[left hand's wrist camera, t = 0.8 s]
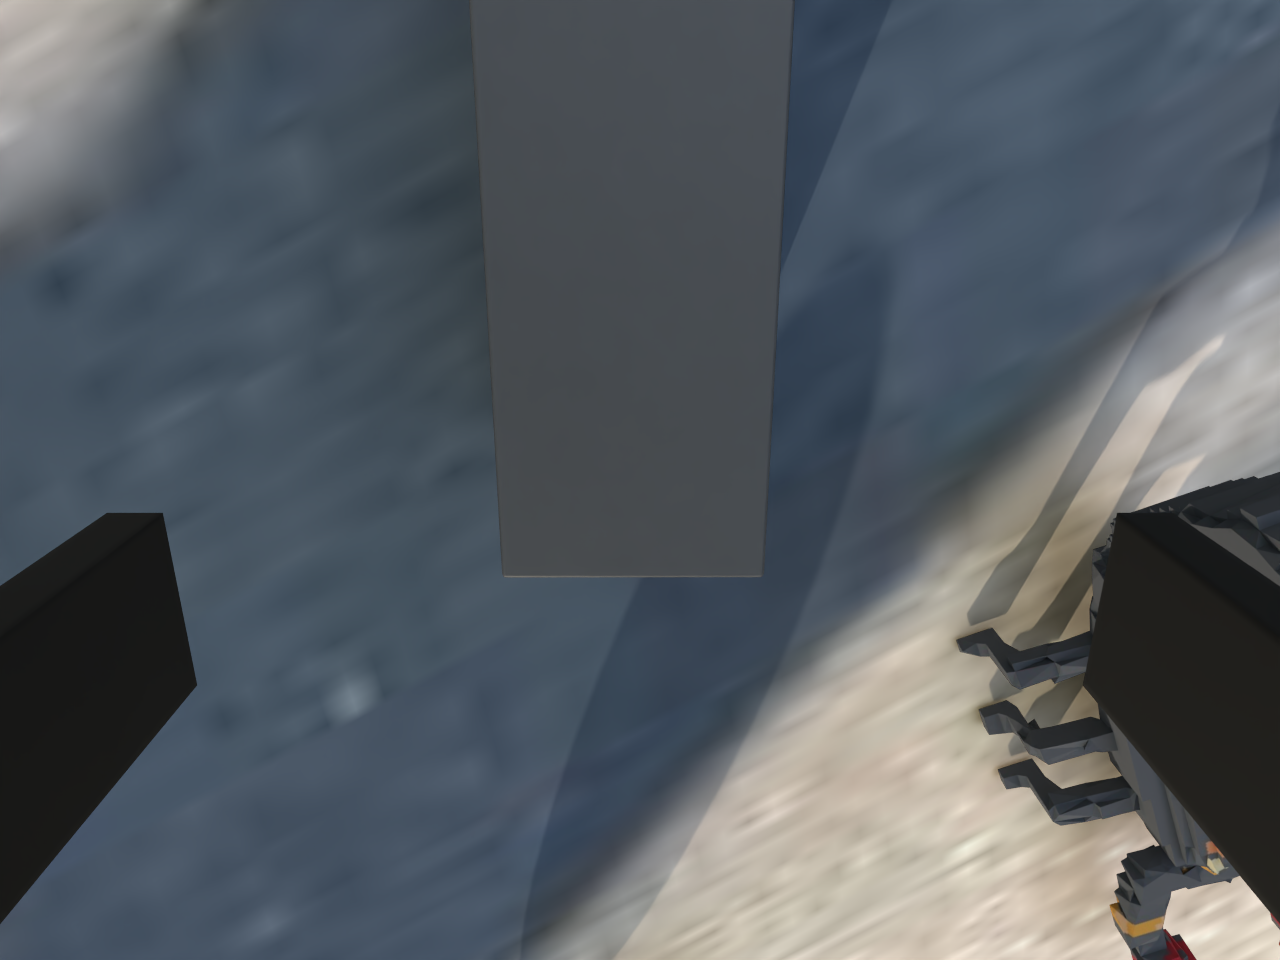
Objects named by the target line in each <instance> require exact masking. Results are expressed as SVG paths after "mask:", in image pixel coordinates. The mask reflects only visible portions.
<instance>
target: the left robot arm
mask: <svg viewBox="0 0 1280 960" xmlns="http://www.w3.org/2000/svg"><path fill="white" fill-rule="evenodd" d="M196 686H197V682H196V677H195V672H194V667H193V662H192V657H191V652H190V647H189V642H188V637H187V632H186V627H185V622H184V617H183V612H182V607H181V602H180V597H179V592H178V587H177V582H176V577H175V572H174V567H173V562H172V557H171V552H170V547H169V542H168V537H167V532H166V527H165V522H164V517H163V513H106V514H105V515H103V516H102V517H100V518H99V519H98V520H96V521H95V522H93V523H92V524H90V525H89V526H87V527H86V528H84V529H83V530H81V531H80V532H79V533H77V534H76V535H74V536H73V537H71V538H70V539H68V540H67V541H65V542H64V543H62V544H61V545H60V546H58V547H57V548H55V549H54V550H52V551H51V552H49V553H48V554H46V555H45V556H43V557H42V558H41V559H39V560H38V561H36V562H35V563H33V564H32V565H30V566H29V567H27V568H26V569H25V570H23V571H22V572H20V573H19V574H17V575H16V576H14V577H13V578H11V579H10V580H8V581H7V582H6V583H4V584H3V585H1V586H0V924H1V922H2V921H3V920H4V919H5V918H6V916H7V915H8V914H9V913H10V911H11V910H12V909H13V908H14V907H15V905H16V904H17V903H18V902H19V901H20V899H21V898H22V897H23V896H24V894H25V893H26V892H27V891H28V890H29V888H30V887H31V886H32V885H33V884H34V882H35V881H36V880H37V879H38V877H39V876H40V875H41V874H42V873H43V871H44V870H45V869H46V868H47V867H48V865H49V864H50V863H51V862H52V860H53V859H54V858H55V857H56V856H57V854H58V853H59V852H60V851H61V850H62V848H63V847H64V846H65V845H66V844H67V842H68V841H69V840H70V839H71V837H72V836H73V835H74V834H75V833H76V831H77V830H78V829H79V828H80V827H81V825H82V824H83V823H84V822H85V820H86V819H87V818H88V817H89V816H90V814H91V813H92V812H93V811H94V810H95V808H96V807H97V806H98V805H99V803H100V802H101V801H102V800H103V799H104V797H105V796H106V795H107V794H108V793H109V791H110V790H111V789H112V788H113V787H114V785H115V784H116V783H117V782H118V780H119V779H120V778H121V777H122V776H123V774H124V773H125V772H126V771H127V770H128V768H129V767H130V766H131V765H132V763H133V762H134V761H135V760H136V759H137V757H138V756H139V755H140V754H141V753H142V751H143V750H144V749H145V748H146V746H147V745H148V744H149V743H150V742H151V740H152V739H153V738H154V737H155V736H156V734H157V733H158V732H159V731H160V729H161V728H162V727H163V726H164V725H165V723H166V722H167V721H168V720H169V719H170V717H171V716H172V715H173V714H174V713H175V711H176V710H177V709H178V708H179V706H180V705H181V704H182V703H183V702H184V700H185V699H186V698H187V697H188V696H189V694H190V693H191V692H192V691H193V689H194V688H195V687H196ZM1083 686H1084V687H1085V688H1086V689H1087V691H1088V692H1089V693H1090V694H1091V696H1092V697H1093V698H1094V699H1095V700H1096V702H1097V703H1098V704H1099V705H1100V706H1101V708H1102V709H1103V710H1104V711H1105V713H1106V714H1107V715H1108V716H1109V717H1110V719H1111V720H1112V721H1113V722H1114V723H1115V725H1116V726H1117V727H1118V728H1119V729H1120V731H1121V732H1122V733H1123V734H1124V736H1125V737H1126V738H1127V739H1128V740H1129V742H1130V743H1131V744H1132V745H1133V746H1134V748H1135V749H1136V750H1137V751H1138V753H1139V754H1140V755H1141V756H1142V757H1143V759H1144V760H1145V761H1146V762H1147V763H1148V765H1149V766H1150V767H1151V768H1152V770H1153V771H1154V772H1155V773H1156V774H1157V776H1158V777H1159V778H1160V779H1161V780H1162V782H1163V783H1164V784H1165V785H1166V787H1167V788H1168V789H1169V790H1170V791H1171V793H1172V794H1173V795H1174V796H1175V797H1176V799H1177V800H1178V801H1179V802H1180V803H1181V805H1182V806H1183V807H1184V808H1185V810H1186V811H1187V812H1188V813H1189V814H1190V816H1191V817H1192V818H1193V819H1194V820H1195V822H1196V823H1197V824H1198V825H1199V827H1200V828H1201V829H1202V830H1203V831H1204V833H1205V834H1206V835H1207V836H1208V837H1209V839H1210V840H1211V841H1212V842H1213V844H1214V845H1215V846H1216V847H1217V848H1218V850H1219V851H1220V852H1221V853H1222V854H1223V856H1224V857H1225V858H1226V859H1227V860H1228V862H1229V863H1230V864H1231V865H1232V867H1233V868H1234V869H1235V870H1236V871H1237V873H1238V874H1239V875H1240V876H1241V877H1242V879H1243V880H1244V881H1245V882H1246V884H1247V885H1248V886H1249V887H1250V888H1251V890H1252V891H1253V892H1254V893H1255V894H1256V896H1257V897H1258V898H1259V899H1260V901H1261V902H1262V903H1263V904H1264V905H1265V907H1266V908H1267V909H1268V910H1269V911H1270V913H1271V914H1272V915H1273V916H1274V918H1275V919H1276V920H1277V921H1278V922H1279V924H1280V586H1279V585H1277V584H1276V583H1274V582H1273V581H1272V580H1270V579H1269V578H1267V577H1266V576H1264V575H1263V574H1261V573H1260V572H1258V571H1257V570H1255V569H1254V568H1253V567H1251V566H1250V565H1248V564H1247V563H1245V562H1244V561H1242V560H1241V559H1239V558H1238V557H1237V556H1235V555H1234V554H1232V553H1231V552H1229V551H1228V550H1226V549H1225V548H1223V547H1222V546H1220V545H1219V544H1218V543H1216V542H1215V541H1213V540H1212V539H1210V538H1209V537H1207V536H1206V535H1204V534H1203V533H1201V532H1200V531H1199V530H1197V529H1196V528H1194V527H1193V526H1191V525H1190V524H1188V523H1187V522H1185V521H1184V520H1182V519H1181V518H1180V517H1178V516H1177V515H1175V514H1174V513H1117V517H1116V522H1115V527H1114V532H1113V537H1112V542H1111V547H1110V552H1109V557H1108V562H1107V567H1106V572H1105V577H1104V582H1103V587H1102V592H1101V597H1100V602H1099V607H1098V612H1097V617H1096V622H1095V627H1094V632H1093V637H1092V642H1091V647H1090V652H1089V657H1088V662H1087V667H1086V672H1085V677H1084V682H1083Z"/></svg>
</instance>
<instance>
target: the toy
mask: <svg viewBox="0 0 1280 960" xmlns="http://www.w3.org/2000/svg"><path fill="white" fill-rule="evenodd" d="M1132 513H1174V514H1175V515H1177V516H1178V517H1180V518H1181V519H1182V520H1184V521H1185V522H1187V523H1188V524H1190V525H1191V526H1193V527H1194V528H1196V529H1197V530H1199V531H1200V532H1201V533H1203V534H1204V535H1206V536H1207V537H1209V538H1210V539H1212V540H1213V541H1215V542H1216V543H1218V544H1219V545H1220V546H1222V547H1223V548H1225V549H1226V550H1228V551H1229V552H1231V553H1232V554H1234V555H1235V556H1237V557H1238V558H1239V559H1241V560H1242V561H1244V562H1245V563H1247V564H1248V565H1250V566H1251V567H1253V568H1254V569H1255V570H1257V571H1258V572H1260V573H1261V574H1263V575H1264V576H1266V577H1267V578H1269V579H1270V580H1272V581H1273V582H1274V583H1276V584H1277V585H1279V586H1280V472H1278V473H1275V474H1272V475H1268V476H1265V477H1262V478H1259V479H1258V478H1256V477H1254V476H1253V477H1250V478H1247V479H1243V478H1241V479H1238V480H1235V481H1232V480H1229V481H1226V482H1224V483H1221V484H1218V485H1215V486H1212V487H1209V486H1208V487H1205V488H1202V489H1199V490H1196V491H1193V492H1190V493H1187V494H1184V495H1181V496H1178V497H1176V498H1173V499H1170V500H1167V501H1164V502H1161V503H1158V504H1155V505H1152V506H1149V507H1146V508H1144V509H1141V510H1138V511H1135V512H1132ZM1113 521H1114V522H1112V523H1110V524H1111V528H1112V533H1113V532H1114V527H1115V522H1116V518H1114V519H1113ZM1112 537H1113V534H1111V535H1110V538H1108V539H1107V545H1106V546H1103V547H1100V548H1097V549H1094V550H1093V559H1092V585H1093V596H1092V600H1091V605H1090V631H1088V632H1086V633H1083V634H1080V635H1078V636H1075V637H1072V638H1070V639H1067V640H1064V641H1061V642H1055V643H1049V644H1044V645H1041V646H1037V647H1034V648H1030V649H1027V650H1023V651H1018V650H1016V649H1014V648H1013V647H1011V646H1009V645H1007V644H1006V643H1004V642H1003V641H1002V639H1001V638H1000V637H999V636H998V634H997V633H996V632H995V631H994V629H993V628H990V629H987V630H984V631H981V632H978V633H975V634H972V635H969V636H966V637H964V638H961V639H958V640H957V644H958V647H959V650H960V652H963V653H968V654H972V655H977V656H990V657H991V659H992V660H993V661H994V663H995V664H996V665H997V666H998V668H999V669H1000V670H1001V672H1002V673H1003V674H1004V676H1005V677H1006V678H1007V679H1008V681H1009V682H1010V683H1011V685H1012V686H1014V687H1016V688H1018V689H1023V688H1026V687H1028V686H1031V685H1034V684H1037V683H1040V682H1043V681H1046V680H1048V679H1052V681H1053V682H1054V683H1058V682H1060V681H1063V680H1066V679H1068V678H1071V677H1074V676H1076V675H1079V674H1082V673H1084V672H1086V667H1087V662H1088V657H1089V652H1090V647H1091V642H1092V637H1093V632H1094V627H1095V622H1096V617H1097V612H1098V607H1099V602H1100V597H1101V592H1102V587H1103V582H1104V577H1105V572H1106V567H1107V562H1108V557H1109V552H1110V547H1111V542H1112ZM1098 707H1099V714H1100V719H1097V718H1093V717H1088V718H1084V719H1080V720H1076V721H1072V722H1069V723H1065V724H1061V725H1057V726H1053V727H1048V728H1042V729H1040V728H1039V726H1038V724H1037V723H1036V721H1035V719H1034V720H1032V721H1031V722H1030V723H1027V722H1026V720H1025V719H1024V717H1023V716H1022V714H1021V713H1020V711H1019V709H1018V708H1017V707H1016V706H1015V705H1013V704H1011V703H1010V702H1008V701H1007V700H1006V701H1003V702H1000V703H997V704H994V705H991V706H987V707H984V708H981V709H979V712H980V715H981V718H982V722H983V725H984V727H985V729H986V730H987V732H988V734H989V735H992V734H1002V733H1011V732H1013V733H1015V734H1016V735H1018V736H1019V737H1020V739H1021V741H1022V742H1023V744H1024V746H1025V748H1026V749H1027V751H1028V753H1029V754H1030V755H1034V756H1036V757H1038V758H1039V759H1041V760H1042V761H1044V762H1045V763H1047V764H1048V765H1050V764H1053V763H1057V762H1060V761H1064V760H1067V759H1071V758H1074V757H1078V756H1081V755H1085V754H1088V753H1092V752H1095V751H1096V752H1108V753H1109V756H1110V760H1111V762H1112V763H1113V764H1114V766H1115V767H1116V768H1117V769H1118V771H1119V772H1120V773H1121V775H1122V776H1120V777H1117V778H1112V779H1106V780H1100V781H1095V782H1089V783H1084V784H1080V785H1076V786H1072V787H1068V788H1065V789H1061V788H1060V787H1058V786H1057V785H1056V784H1054V783H1053V782H1052V781H1050V780H1049V779H1048V778H1046V777H1045V776H1044V774H1043V773H1042V772H1041V770H1040V769H1039V768H1038V766H1037V765H1036V763H1035V762H1034V761H1033V759H1029V760H1026V761H1023V762H1020V763H1016V764H1013V765H1010V766H1007V767H1004V768H1001V769H998V771H999V775H1000V778H1001V780H1002V782H1003V784H1004V786H1005V787H1006V789H1011V788H1017V787H1030V788H1031V789H1032V791H1033V792H1034V794H1035V795H1036V797H1037V798H1038V800H1039V801H1040V803H1041V804H1042V806H1043V807H1044V809H1045V810H1046V812H1047V813H1048V815H1049V816H1050V818H1051V819H1052V821H1053V822H1055V823H1057V824H1059V825H1067V824H1074V823H1081V822H1087V821H1091V820H1096V819H1100V818H1102V819H1105V818H1109V817H1112V816H1116V815H1119V814H1123V813H1128V812H1132V811H1136V812H1137V813H1138V815H1139V816H1140V817H1141V819H1142V820H1143V821H1144V823H1145V825H1146V827H1147V829H1148V830H1149V832H1150V833H1151V834H1152V836H1153V837H1154V838H1155V840H1156V841H1157V842H1158V844H1159V845H1160V846H1156V847H1155V846H1154V845H1152V846H1150V847H1148V848H1146V849H1144V850H1140V851H1136V852H1131V853H1127V858H1125V859H1124V860H1122V861H1121V863H1122V865H1123V867H1124V869H1125V872H1122V873H1119V874H1117V879H1118V884H1119V888H1118V889H1117V890H1115V891H1114V892H1115V894H1116V897H1117V902H1118V903H1114V904H1111V905H1110V908H1111V912H1112V915H1113V919H1114V922H1115V926H1116V927H1117V929H1118V930H1119V932H1120V934H1121V935H1122V937H1123V938H1124V940H1125V942H1126V943H1127V945H1128V947H1129V948H1130V950H1131V954H1132V958H1133V960H1196V958H1195V957H1194V955H1193V954H1192V952H1191V951H1190V949H1189V948H1188V946H1187V945H1186V943H1185V942H1184V940H1183V939H1182V937H1181V936H1180V934H1178V935H1175V936H1171V935H1170V934H1169V933H1168V931H1167V930H1166V929H1163V924H1164V919H1165V914H1166V909H1167V906H1168V903H1169V900H1170V897H1171V891H1175V890H1178V889H1181V888H1185V887H1186V888H1187V889H1191V888H1195V887H1199V886H1203V885H1207V884H1212V883H1217V882H1222V881H1227V882H1229V883H1231V881H1232V879H1233V878H1235V877H1237V876H1240V875H1239V874H1238V873H1237V871H1236V870H1235V869H1234V868H1233V867H1232V865H1231V864H1230V863H1229V862H1228V860H1227V859H1226V858H1225V857H1224V856H1223V854H1222V853H1221V852H1220V851H1219V850H1218V848H1217V847H1216V846H1215V845H1214V844H1213V842H1212V841H1211V840H1210V839H1209V837H1208V836H1207V835H1206V834H1205V833H1204V831H1203V830H1202V829H1201V828H1200V827H1199V825H1198V824H1197V823H1196V822H1195V820H1194V819H1193V818H1192V817H1191V816H1190V814H1189V813H1188V812H1187V811H1186V810H1185V808H1184V807H1183V806H1182V805H1181V803H1180V802H1179V801H1178V800H1177V799H1176V797H1175V796H1174V795H1173V794H1172V793H1171V791H1170V790H1169V789H1168V788H1167V787H1166V785H1165V784H1164V783H1163V782H1162V780H1161V779H1160V778H1159V777H1158V776H1157V774H1156V773H1155V772H1154V771H1153V770H1152V768H1151V767H1150V766H1149V765H1148V763H1147V762H1146V761H1145V760H1144V759H1143V757H1142V756H1141V755H1140V754H1139V753H1138V751H1137V750H1136V749H1135V748H1134V746H1133V745H1132V744H1131V743H1130V742H1129V740H1128V739H1127V738H1126V737H1125V736H1124V734H1123V733H1122V732H1121V731H1120V729H1119V728H1118V727H1117V726H1116V725H1115V723H1114V722H1113V721H1112V720H1111V719H1110V717H1109V716H1108V715H1107V714H1106V713H1105V711H1104V710H1103V709H1102V708H1101V706H1100V705H1099V704H1098ZM1271 918H1272V921H1273V922H1274V923H1275V924H1276V926H1277V927H1278V928H1279V929H1280V924H1279V922H1278V921H1277V920H1276V919H1275V918H1274V916H1273V915H1272V914H1271ZM1279 945H1280V942H1279Z"/></svg>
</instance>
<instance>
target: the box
mask: <svg viewBox="0 0 1280 960" xmlns="http://www.w3.org/2000/svg"><path fill="white" fill-rule="evenodd" d="M469 5H470V22H471V40H472V57H473V75H474V92H475V109H476V127H477V144H478V161H479V179H480V196H481V214H482V231H483V248H484V266H485V283H486V300H487V318H488V335H489V352H490V370H491V387H492V405H493V422H494V439H495V457H496V474H497V491H498V509H499V526H500V544H501V561H502V574H503V576H504V577H762V576H763V574H764V561H765V543H766V524H767V506H768V487H769V469H770V450H771V432H772V413H773V395H774V376H775V358H776V339H777V321H778V302H779V284H780V265H781V247H782V228H783V210H784V191H785V173H786V154H787V136H788V117H789V99H790V80H791V62H792V43H793V25H794V6H795V0H469Z"/></svg>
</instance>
